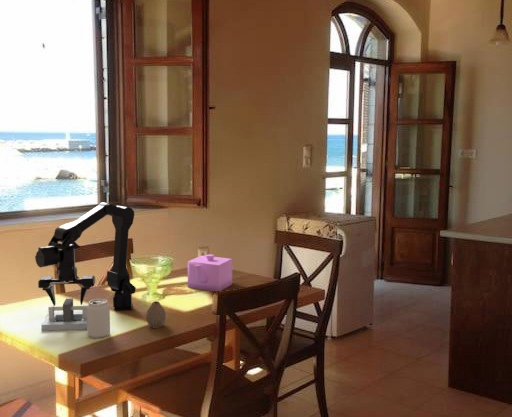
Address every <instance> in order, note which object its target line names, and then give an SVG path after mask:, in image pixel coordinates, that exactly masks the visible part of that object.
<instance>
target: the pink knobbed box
mask: <svg viewBox="0 0 512 417" xmlns="http://www.w3.org/2000/svg"><path fill="white" fill-rule="evenodd" d="M232 284H233V259H232V258H228V257H219V256H215V254H206V255H203V254H202V255H200V256H198V257H195V258H192V259H190V260H188V261H187V288H189V289H195V290H196V289H197V290H203V291H209V292H217V291H219V292H221V291H223V290H225V289H226V288H228V287H230V286H232Z"/></svg>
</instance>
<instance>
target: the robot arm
mask: <svg viewBox="0 0 512 417" xmlns="http://www.w3.org/2000/svg"><path fill="white" fill-rule="evenodd" d="M106 216H111V219H112V220H111V221H112V224H113V226H114V231H115V232H114V245H113V246H114V248H113V262H112V263H113V264H112V267H111V268H110V270H107V271H106V280H105V281H106V283H107V286H108V287H109V289H110V290H111V292H114V295H113V297H112V298H113V299H112V302H113V303H112V304H113V305H112V306H113V310H114V311H128V310H130V311H131V310H133V300H132V299H133V298H132V297H133V295H134V294H135V293H136V289H137V288H136V286H135V285H134V284H132V283H131V276H130V273H129V271H128V268H127V261H128V247H129V246H128V245H129V243H128V242H129V231H130V228H131V227H132V225H133V224H134V220H135V211H134V210H133V208H132V207H130V206H123V205H113V204H111V203H110V202H109V203H108V202H100V203H99V204H98V205H97V206H95V207H94V208H92V209H90V210H89V211H88V212H86V213H84V214H83V215H82V216H80V217H78V218H77V219H75V220H74V221H71V222H67V223H64V224H61V225H60V226H57V227H56V228H55V230H54V232H53V233H54V234H53V236H52V237H51V239H50V241H49V242H48V244H47V246H39V247H38V251H36V253H35V256H34V259H35V264H36V265H37V266H38V267H39V268H45V267H50V266H56V265H57V266H56V274H57V275H58V278H54V276H52V275H51V276H48V275H47V276H46V275H45V276H42V277H40V278H39V279H38V282H37V283H38V284H37V285H38V288H39V289H42V291H45V293H46V294H47V295H48V297H49V298H50V300H51V303H52V306H54V307H56V304H57V303H56V295H55V285H77V284H78V285H81V288H80V299H79V302H80V306H83V302H84V299H85V295H86V293H87V290H90V289H91V287H92V288H93V287H95V284H96V276H95V275H94V274H93V275H91V274H90V275H83V276H82V277H79V278H77V277H78V268H77V267H76V255H75V254H76V252H75V250H76V249H80V248H81V245H79V244H78V243H77V241H78V239H80V238H81V237H82V234H83V232H85V231H86V230H87V229H89V228H91V226H93V225H94V224H96V223H97V222H99V221H100V220H101V219H103V218H104V217H106Z"/></svg>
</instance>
